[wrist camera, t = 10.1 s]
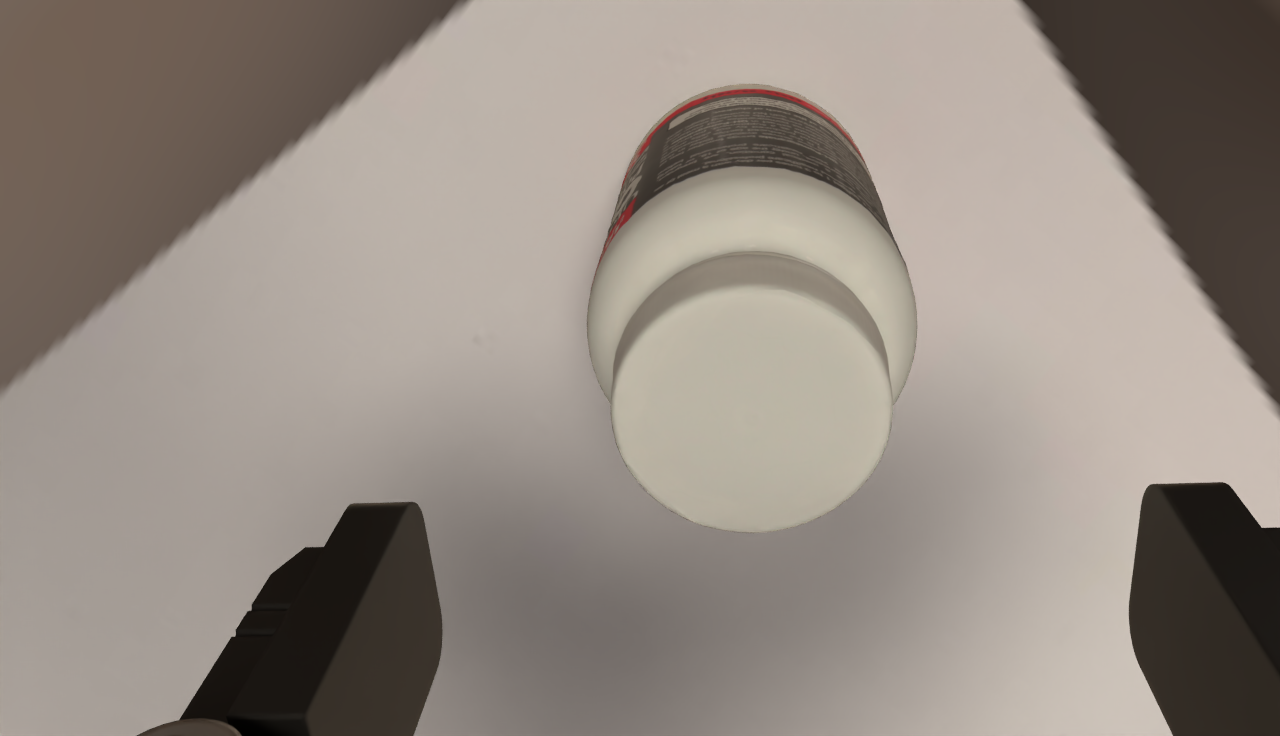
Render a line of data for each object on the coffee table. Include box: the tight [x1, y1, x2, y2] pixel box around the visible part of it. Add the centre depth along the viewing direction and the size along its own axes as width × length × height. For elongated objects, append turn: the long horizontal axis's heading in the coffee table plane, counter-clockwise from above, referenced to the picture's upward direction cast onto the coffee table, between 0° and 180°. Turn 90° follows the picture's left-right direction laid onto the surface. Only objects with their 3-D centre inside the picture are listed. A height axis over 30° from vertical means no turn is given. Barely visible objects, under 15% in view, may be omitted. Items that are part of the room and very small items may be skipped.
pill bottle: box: [587, 84, 917, 533], centre depth 20 cm, size 5×5×10 cm
